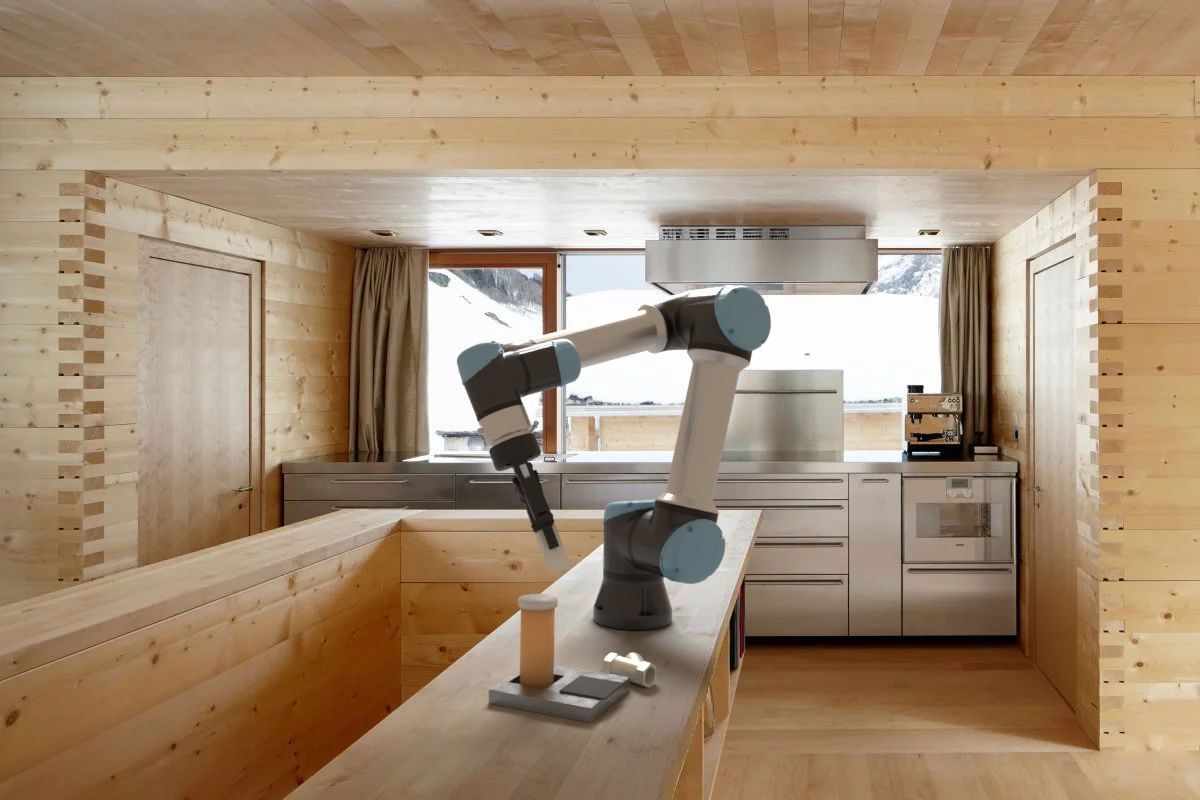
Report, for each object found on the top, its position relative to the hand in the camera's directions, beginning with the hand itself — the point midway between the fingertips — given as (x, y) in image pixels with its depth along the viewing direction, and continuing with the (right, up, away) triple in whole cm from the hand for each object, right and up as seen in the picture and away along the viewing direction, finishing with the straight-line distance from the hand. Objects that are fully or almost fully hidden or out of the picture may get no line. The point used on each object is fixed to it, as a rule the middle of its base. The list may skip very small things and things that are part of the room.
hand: (559, 570), depth 138 cm
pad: (+5, -16, -7) cm, 18 cm away
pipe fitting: (+12, -18, +4) cm, 22 cm away
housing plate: (0, -18, -5) cm, 18 cm away
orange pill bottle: (-3, -18, -3) cm, 18 cm away
